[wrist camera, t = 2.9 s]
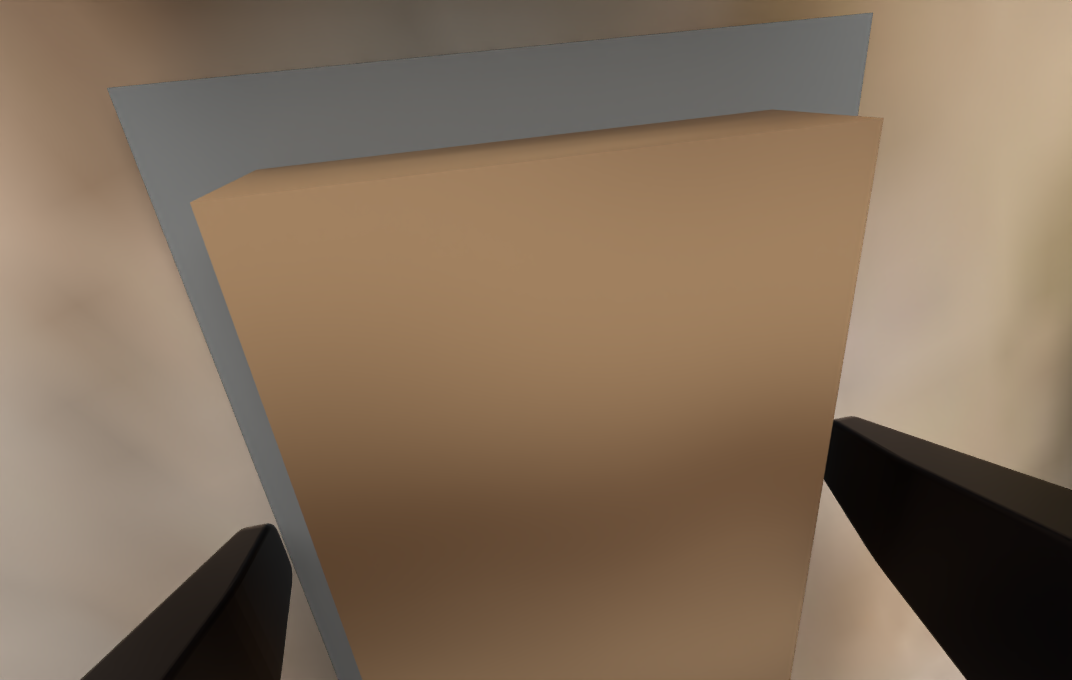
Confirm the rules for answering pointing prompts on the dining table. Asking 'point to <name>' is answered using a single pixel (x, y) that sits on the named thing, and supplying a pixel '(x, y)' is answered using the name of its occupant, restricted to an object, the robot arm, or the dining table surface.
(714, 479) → the board
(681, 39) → the mat
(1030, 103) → the dining table surface
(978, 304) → the dining table surface
